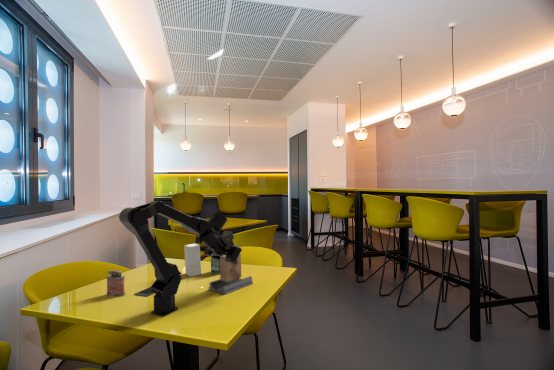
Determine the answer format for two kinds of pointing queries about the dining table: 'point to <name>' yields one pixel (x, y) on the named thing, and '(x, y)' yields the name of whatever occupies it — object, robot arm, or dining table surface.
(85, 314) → the dining table surface
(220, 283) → the door track
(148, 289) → the cell phone
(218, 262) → the canned tomato
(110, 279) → the lighter
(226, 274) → the brown wooden block
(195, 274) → the skincare box
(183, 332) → the dining table surface
